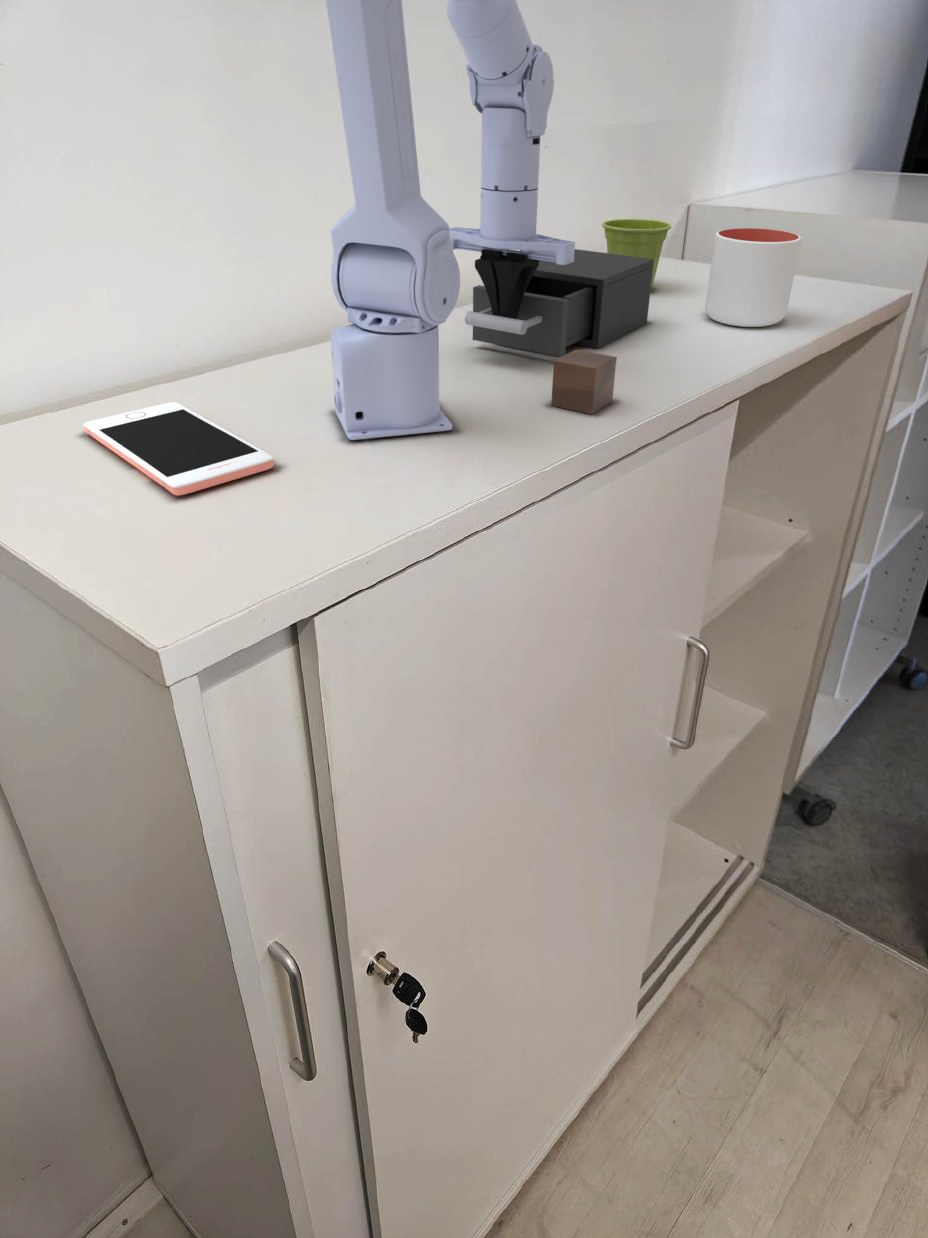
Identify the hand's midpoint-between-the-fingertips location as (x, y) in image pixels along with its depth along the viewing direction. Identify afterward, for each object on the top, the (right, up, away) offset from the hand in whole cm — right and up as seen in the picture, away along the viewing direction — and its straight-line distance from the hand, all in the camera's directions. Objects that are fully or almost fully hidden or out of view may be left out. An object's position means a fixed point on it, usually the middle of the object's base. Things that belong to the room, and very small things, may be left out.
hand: (505, 326), depth 95 cm
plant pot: (+19, +15, +31) cm, 40 cm away
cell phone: (-29, -17, -20) cm, 39 cm away
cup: (+31, +7, +17) cm, 36 cm away
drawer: (+3, 0, +6) cm, 7 cm away
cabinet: (+10, +5, +14) cm, 17 cm away
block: (+7, -11, -9) cm, 16 cm away
